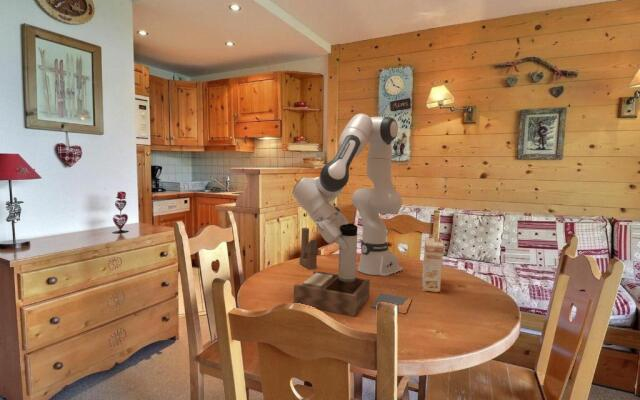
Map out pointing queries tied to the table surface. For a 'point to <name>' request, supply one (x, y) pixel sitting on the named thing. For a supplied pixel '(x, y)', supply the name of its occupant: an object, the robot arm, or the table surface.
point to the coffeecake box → (432, 264)
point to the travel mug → (348, 253)
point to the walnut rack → (335, 295)
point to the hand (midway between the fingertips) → (349, 245)
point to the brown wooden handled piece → (308, 250)
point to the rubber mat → (390, 300)
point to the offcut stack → (318, 280)
